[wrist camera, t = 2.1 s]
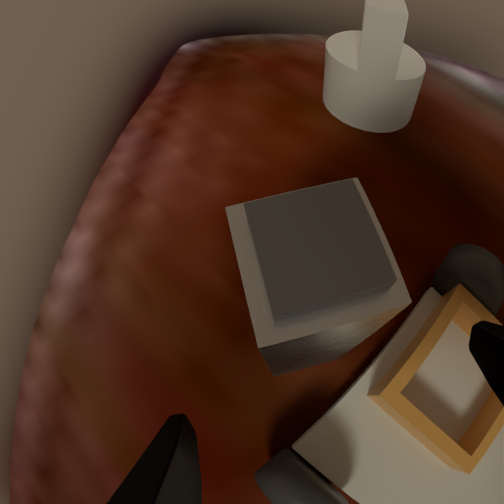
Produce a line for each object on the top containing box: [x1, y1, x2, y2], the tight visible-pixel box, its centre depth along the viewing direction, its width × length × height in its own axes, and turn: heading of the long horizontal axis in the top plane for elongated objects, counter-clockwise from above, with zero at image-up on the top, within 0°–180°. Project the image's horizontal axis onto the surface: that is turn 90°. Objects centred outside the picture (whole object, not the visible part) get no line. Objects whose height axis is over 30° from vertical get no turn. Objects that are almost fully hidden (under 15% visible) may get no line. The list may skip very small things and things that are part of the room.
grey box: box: [225, 177, 412, 376], centre depth 13 cm, size 4×4×13 cm
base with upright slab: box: [323, 0, 426, 133], centre depth 22 cm, size 9×9×12 cm
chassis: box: [255, 244, 504, 504], centre depth 12 cm, size 19×17×5 cm
